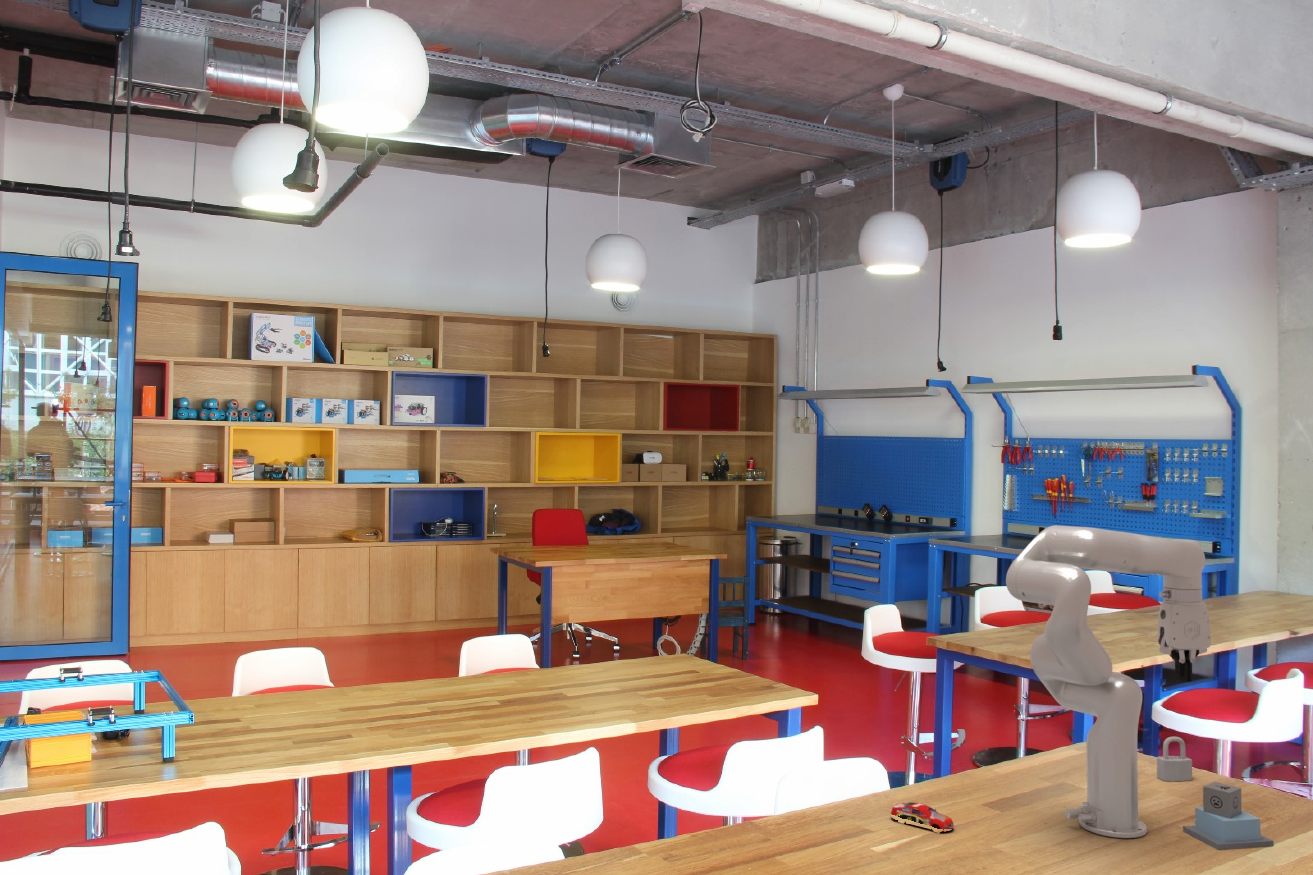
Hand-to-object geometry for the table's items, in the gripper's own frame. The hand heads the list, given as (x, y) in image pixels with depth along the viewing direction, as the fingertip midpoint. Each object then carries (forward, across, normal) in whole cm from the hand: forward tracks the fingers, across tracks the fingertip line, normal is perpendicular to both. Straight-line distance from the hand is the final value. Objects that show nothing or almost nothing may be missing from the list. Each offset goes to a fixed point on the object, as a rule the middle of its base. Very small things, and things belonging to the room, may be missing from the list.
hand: (1183, 680), depth 221 cm
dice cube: (+22, -6, -19) cm, 30 cm away
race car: (+28, -62, -2) cm, 67 cm away
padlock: (+27, +10, +17) cm, 34 cm away
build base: (+27, -5, -19) cm, 33 cm away
